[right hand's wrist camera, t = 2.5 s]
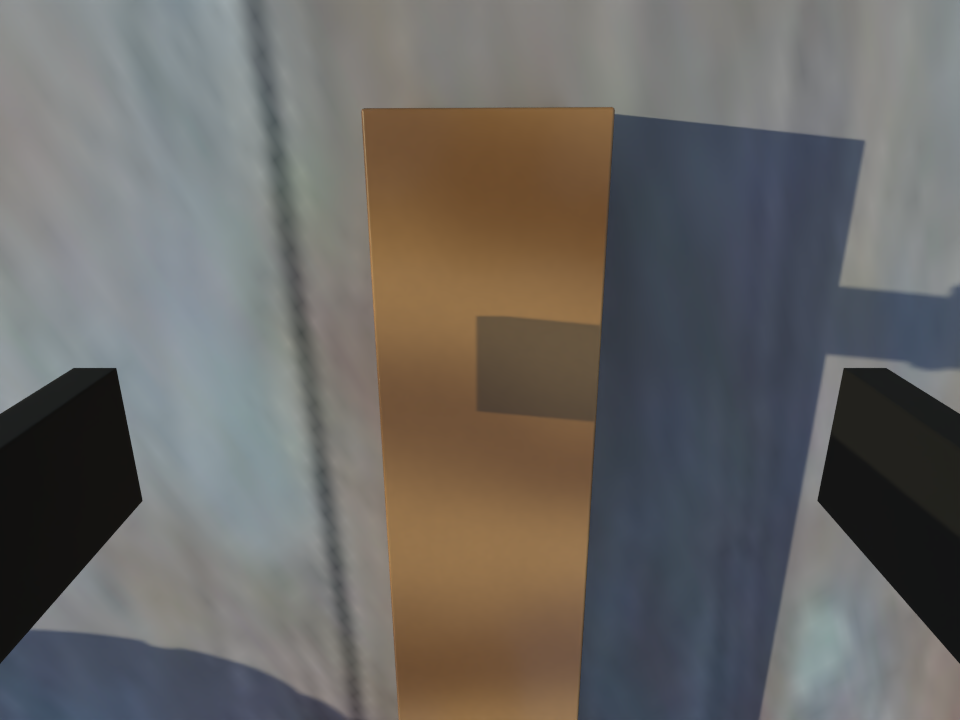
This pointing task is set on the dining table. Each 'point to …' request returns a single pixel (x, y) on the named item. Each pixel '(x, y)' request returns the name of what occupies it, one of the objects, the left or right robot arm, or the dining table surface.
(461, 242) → the bar
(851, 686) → the dining table surface
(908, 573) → the right robot arm
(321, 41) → the dining table surface
